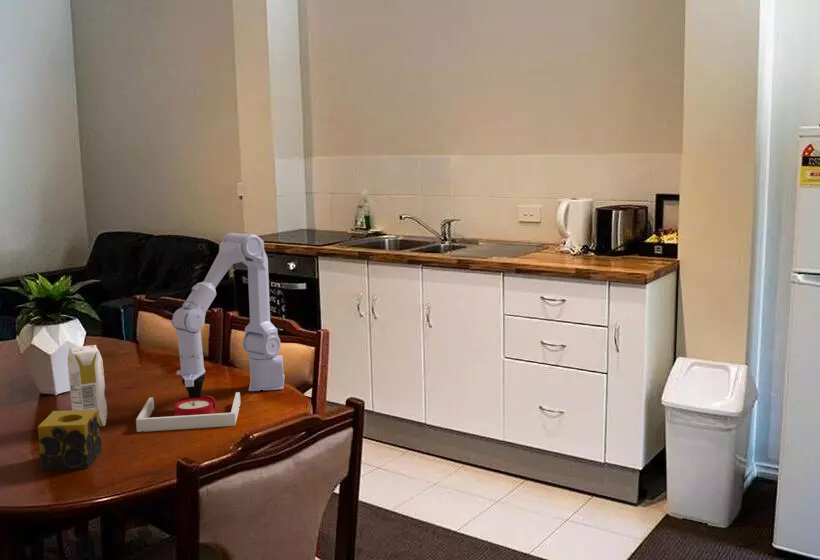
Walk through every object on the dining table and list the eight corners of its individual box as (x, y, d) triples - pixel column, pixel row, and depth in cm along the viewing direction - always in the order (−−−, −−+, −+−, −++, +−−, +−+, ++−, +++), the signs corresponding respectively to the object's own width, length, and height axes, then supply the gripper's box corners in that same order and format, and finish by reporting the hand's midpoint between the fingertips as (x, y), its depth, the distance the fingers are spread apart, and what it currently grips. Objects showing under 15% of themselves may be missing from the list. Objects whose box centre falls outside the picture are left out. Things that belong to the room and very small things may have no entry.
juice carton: (75, 432, 192) (68, 355, 189) (72, 421, 199) (65, 347, 196) (109, 426, 195) (102, 350, 192) (104, 416, 203) (98, 343, 200)
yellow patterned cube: (56, 453, 179) (52, 410, 177) (103, 451, 180) (99, 408, 178) (39, 471, 169) (34, 426, 167) (89, 469, 170) (84, 423, 168)
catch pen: (240, 403, 211) (239, 392, 211) (235, 425, 194) (234, 413, 194) (150, 408, 208) (149, 397, 208) (136, 431, 191) (135, 419, 191)
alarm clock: (169, 414, 192) (175, 384, 206) (171, 437, 194) (177, 405, 208) (213, 411, 194) (216, 381, 207) (215, 433, 196) (218, 402, 210)
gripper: (179, 347, 212) (184, 395, 215) (170, 363, 198) (175, 415, 201) (206, 345, 213) (211, 393, 216) (199, 361, 199) (204, 413, 202)
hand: (196, 404), depth 208 cm, fingers closed, pressing on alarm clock
